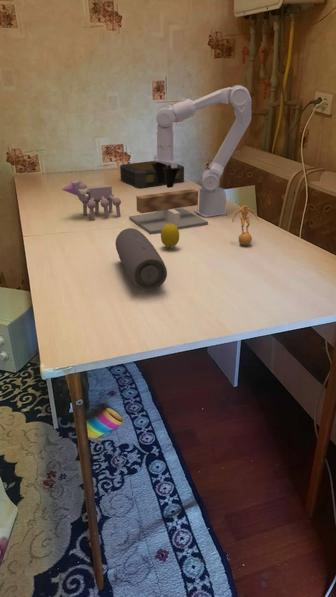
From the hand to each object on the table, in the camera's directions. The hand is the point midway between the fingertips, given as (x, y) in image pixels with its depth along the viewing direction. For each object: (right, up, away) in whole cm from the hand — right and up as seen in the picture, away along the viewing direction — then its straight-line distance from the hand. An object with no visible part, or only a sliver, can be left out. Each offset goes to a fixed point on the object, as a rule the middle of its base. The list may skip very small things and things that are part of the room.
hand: (165, 184), depth 159 cm
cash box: (-7, +14, +51) cm, 53 cm away
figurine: (+24, -25, -24) cm, 42 cm away
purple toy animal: (-27, -12, +1) cm, 29 cm away
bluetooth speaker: (-6, -36, -44) cm, 57 cm away
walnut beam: (+1, -10, -7) cm, 12 cm away
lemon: (+2, -26, -27) cm, 38 cm away
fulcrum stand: (+1, -14, -5) cm, 15 cm away
